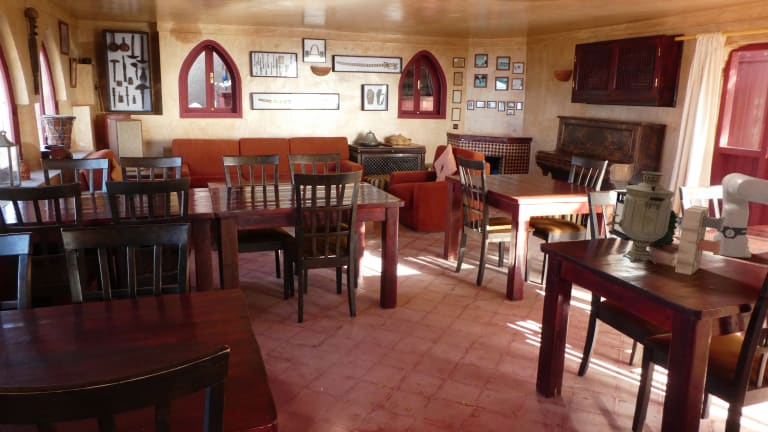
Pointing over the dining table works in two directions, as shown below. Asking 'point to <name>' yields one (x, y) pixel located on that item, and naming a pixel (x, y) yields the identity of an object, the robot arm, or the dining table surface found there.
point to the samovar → (645, 214)
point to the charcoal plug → (713, 222)
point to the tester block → (691, 240)
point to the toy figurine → (670, 232)
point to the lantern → (620, 213)
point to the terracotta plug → (709, 246)
